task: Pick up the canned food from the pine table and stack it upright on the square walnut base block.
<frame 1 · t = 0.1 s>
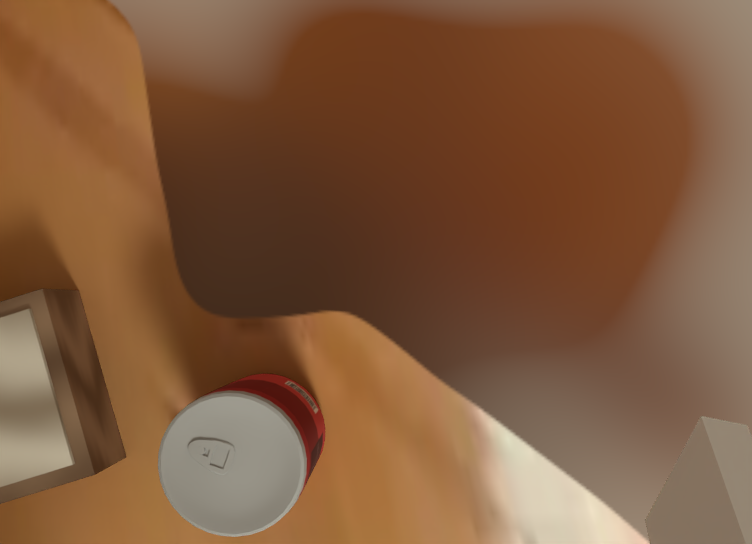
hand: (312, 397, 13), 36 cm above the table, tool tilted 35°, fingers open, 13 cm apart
canned food: (269, 427, 48), on the table
base: (20, 398, 49), on the table
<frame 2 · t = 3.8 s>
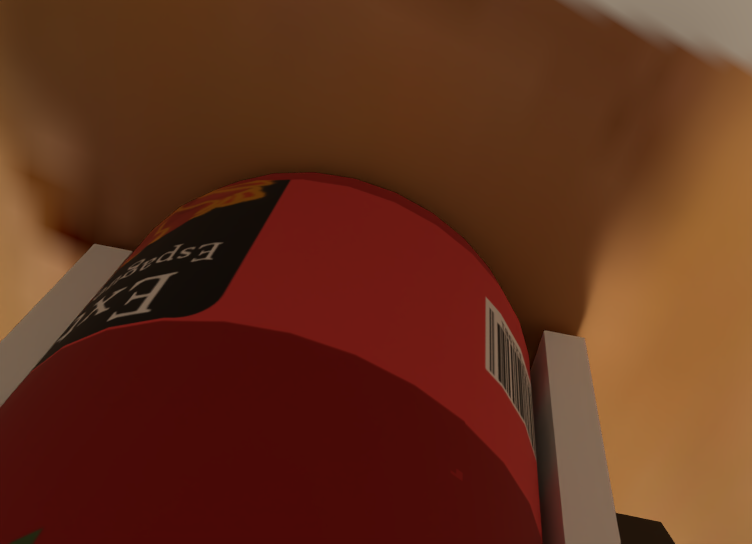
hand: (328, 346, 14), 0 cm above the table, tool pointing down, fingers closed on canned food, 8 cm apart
canned food: (332, 332, 14), on the table, touching gripper
when the fingers open (7 cm above the table, at t = 9.2 s): canned food drops 1 cm, resting on base.
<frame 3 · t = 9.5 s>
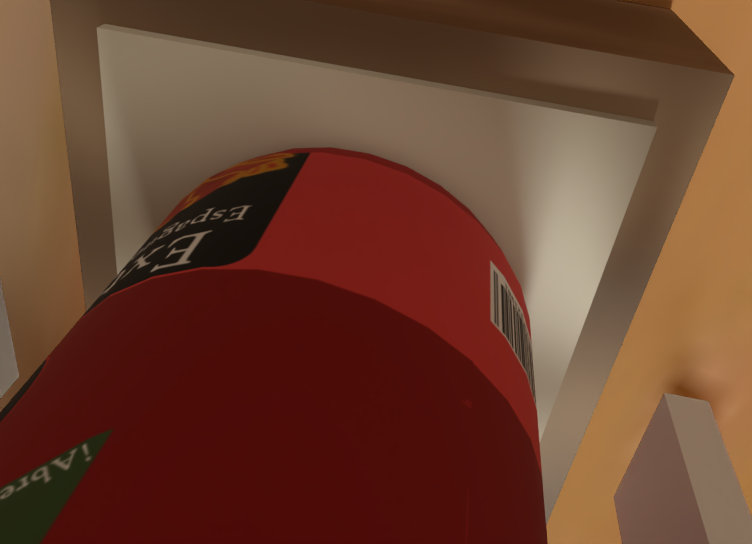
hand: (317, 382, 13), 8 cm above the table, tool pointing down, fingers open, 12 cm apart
canned food: (345, 300, 15), point 5 cm above the table, touching base
base: (376, 196, 19), on the table
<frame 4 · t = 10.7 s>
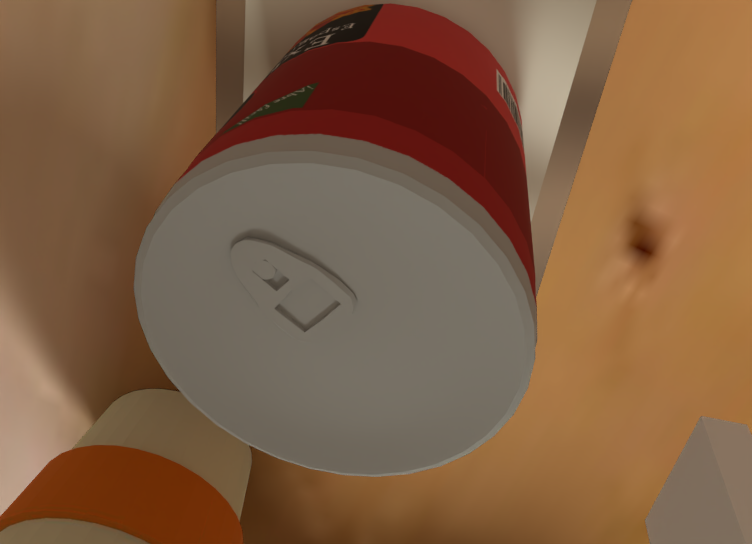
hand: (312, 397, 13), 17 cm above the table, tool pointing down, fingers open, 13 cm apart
canned food: (398, 122, 23), point 5 cm above the table, touching base
base: (412, 71, 27), on the table
reusable coffee cup: (178, 443, 41), on the table
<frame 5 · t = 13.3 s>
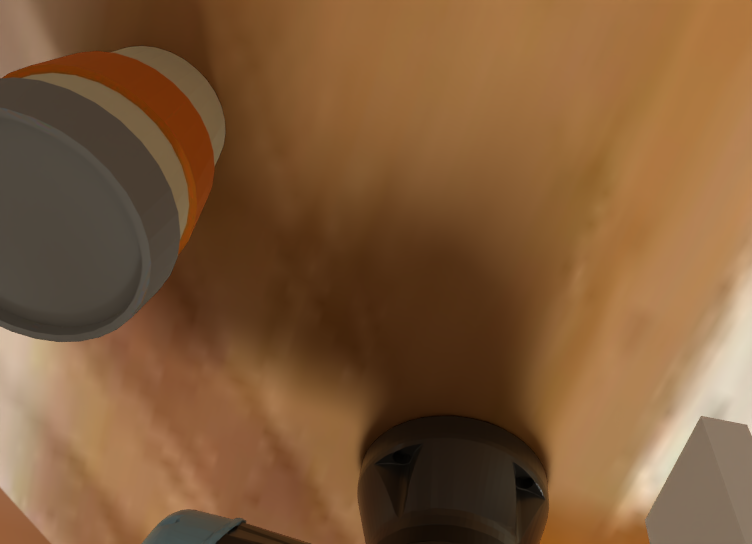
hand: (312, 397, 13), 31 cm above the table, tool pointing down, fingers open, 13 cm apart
reusable coffee cup: (157, 117, 44), on the table
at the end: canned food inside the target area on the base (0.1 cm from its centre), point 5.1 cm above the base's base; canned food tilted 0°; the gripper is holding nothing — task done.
